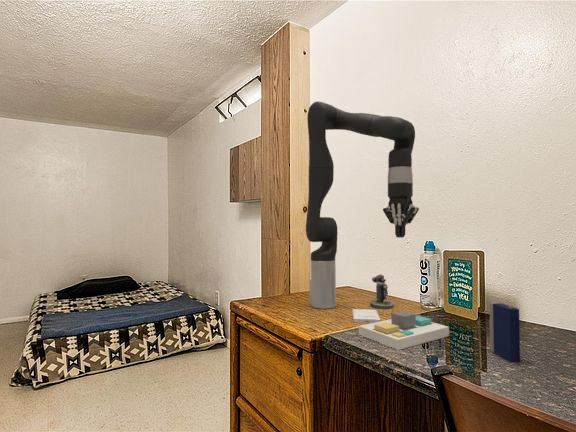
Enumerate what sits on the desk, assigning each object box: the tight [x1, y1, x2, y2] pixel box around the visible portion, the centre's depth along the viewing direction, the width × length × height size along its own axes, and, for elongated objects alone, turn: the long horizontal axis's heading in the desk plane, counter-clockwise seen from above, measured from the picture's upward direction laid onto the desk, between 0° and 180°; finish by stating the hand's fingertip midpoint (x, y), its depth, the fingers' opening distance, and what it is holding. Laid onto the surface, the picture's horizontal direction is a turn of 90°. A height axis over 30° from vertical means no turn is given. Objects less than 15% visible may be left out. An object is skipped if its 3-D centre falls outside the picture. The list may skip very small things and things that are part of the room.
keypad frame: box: [358, 318, 450, 351], centre depth 100 cm, size 14×20×3 cm
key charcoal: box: [390, 310, 417, 328], centre depth 100 cm, size 4×4×3 cm
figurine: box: [369, 273, 395, 310], centre depth 134 cm, size 8×8×12 cm
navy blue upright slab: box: [488, 301, 521, 363], centre depth 84 cm, size 7×2×12 cm, turn 4°
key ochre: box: [374, 322, 399, 335], centre depth 96 cm, size 4×4×3 cm
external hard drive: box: [351, 308, 381, 323], centre depth 119 cm, size 2×8×12 cm
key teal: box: [416, 315, 432, 327], centre depth 103 cm, size 4×4×3 cm
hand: (400, 237), depth 114 cm, fingers closed
